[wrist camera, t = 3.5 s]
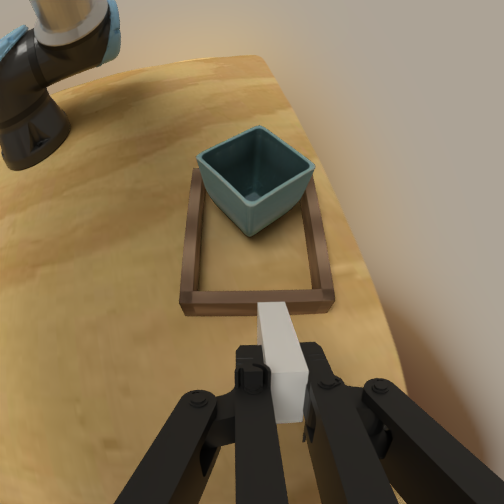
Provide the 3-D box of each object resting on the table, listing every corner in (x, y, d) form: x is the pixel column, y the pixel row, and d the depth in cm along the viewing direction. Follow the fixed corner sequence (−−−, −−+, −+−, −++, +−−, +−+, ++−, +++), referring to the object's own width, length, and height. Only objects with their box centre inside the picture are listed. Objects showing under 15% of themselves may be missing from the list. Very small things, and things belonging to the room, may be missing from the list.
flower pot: (304, 218, 37) (318, 165, 30) (248, 259, 34) (250, 207, 27) (256, 177, 41) (259, 123, 33) (201, 210, 38) (193, 155, 30)
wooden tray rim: (196, 187, 39) (193, 168, 36) (306, 187, 40) (311, 168, 37) (185, 315, 31) (179, 303, 28) (326, 313, 31) (335, 300, 28)
